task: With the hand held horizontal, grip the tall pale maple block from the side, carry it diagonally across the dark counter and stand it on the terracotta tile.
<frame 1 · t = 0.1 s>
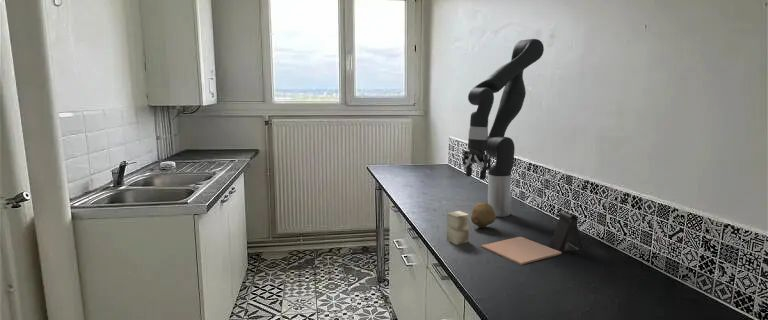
hand: (475, 177, 182), 17 cm above the countertop, tool pointing down, fingers open, 8 cm apart
natural sponge: (483, 228, 173), on the countertop
terracotta tile: (520, 250, 148), on the countertop
maple block: (457, 241, 158), on the countertop
phone stand: (566, 248, 150), on the countertop
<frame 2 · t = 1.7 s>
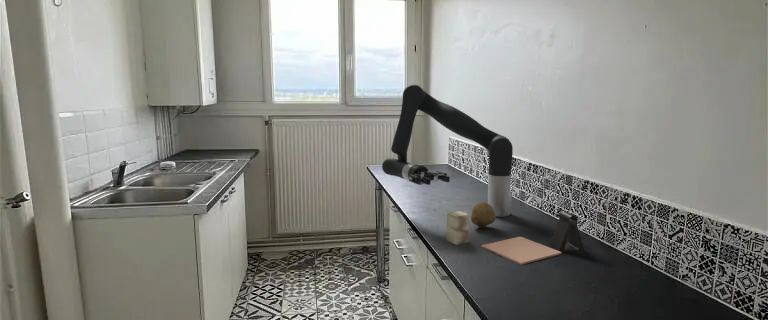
hand: (439, 180, 165), 20 cm above the countertop, tool horizontal, fingers open, 8 cm apart
nothing on the countertop moved.
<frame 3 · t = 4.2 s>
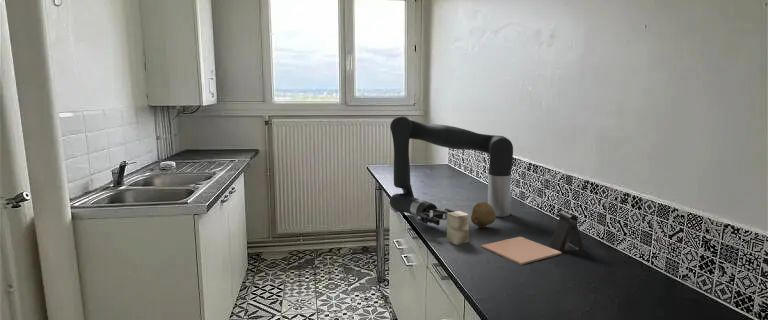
hand: (448, 220, 162), 6 cm above the countertop, tool horizontal, fingers open, 8 cm apart
nothing on the countertop moved.
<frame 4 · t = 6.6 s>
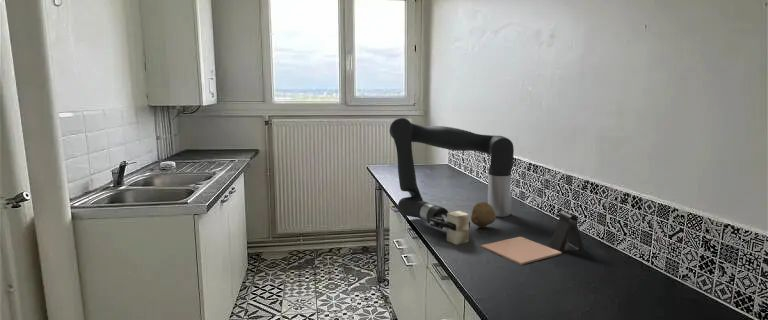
hand: (462, 226, 155), 6 cm above the countertop, tool horizontal, fingers closed on maple block, 5 cm apart
maple block: (457, 241, 158), on the countertop, touching gripper
everything else where it was.
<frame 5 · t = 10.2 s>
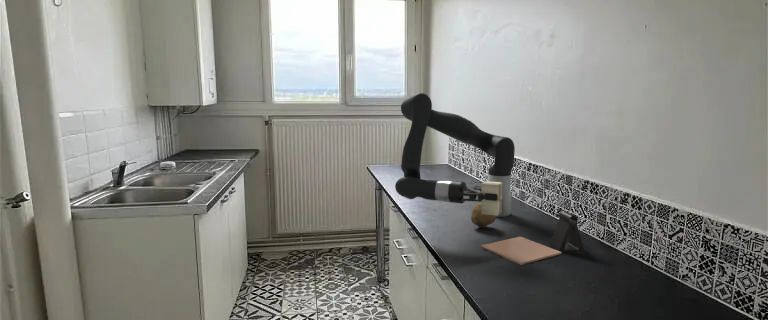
hand: (499, 195, 147), 18 cm above the countertop, tool horizontal, fingers closed on maple block, 5 cm apart
maple block: (491, 212, 149), point 12 cm above the countertop, touching gripper
everything else where it was.
when the fingers open (7 cm above the countertop, at t = 13.8 s): maple block stays where it is, resting on terracotta tile.
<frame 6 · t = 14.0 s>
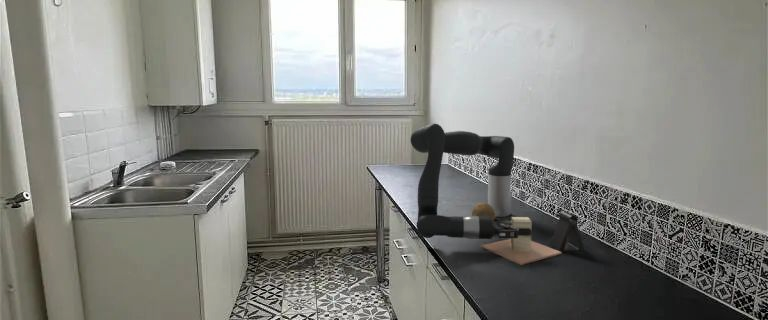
hand: (528, 228, 147), 8 cm above the countertop, tool horizontal, fingers open, 6 cm apart
maple block: (520, 248, 148), point 1 cm above the countertop, touching terracotta tile
everything else where it was.
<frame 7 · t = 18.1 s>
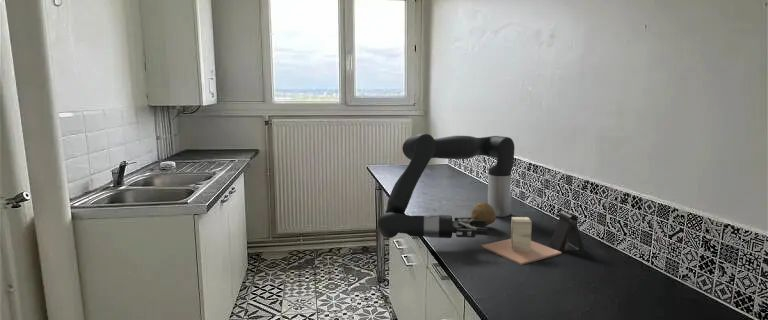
hand: (486, 227, 148), 8 cm above the countertop, tool horizontal, fingers open, 8 cm apart
nothing on the countertop moved.
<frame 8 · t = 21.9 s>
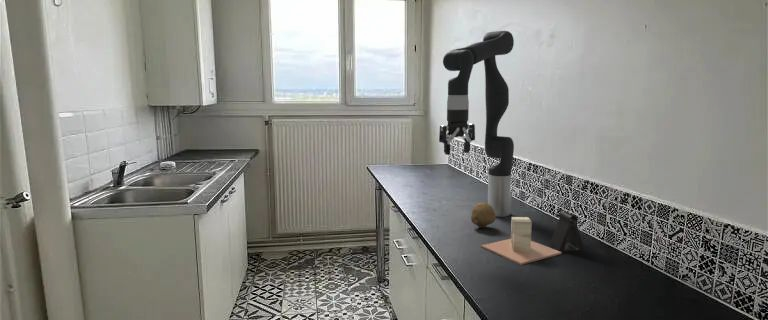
hand: (457, 153, 161), 30 cm above the countertop, tool pointing down, fingers open, 8 cm apart
nothing on the countertop moved.
at the end: maple block inside the target area on the terracotta tile (0.1 cm from its centre), point 0.6 cm above the terracotta tile's base; maple block tilted 0°; the gripper is holding nothing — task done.
